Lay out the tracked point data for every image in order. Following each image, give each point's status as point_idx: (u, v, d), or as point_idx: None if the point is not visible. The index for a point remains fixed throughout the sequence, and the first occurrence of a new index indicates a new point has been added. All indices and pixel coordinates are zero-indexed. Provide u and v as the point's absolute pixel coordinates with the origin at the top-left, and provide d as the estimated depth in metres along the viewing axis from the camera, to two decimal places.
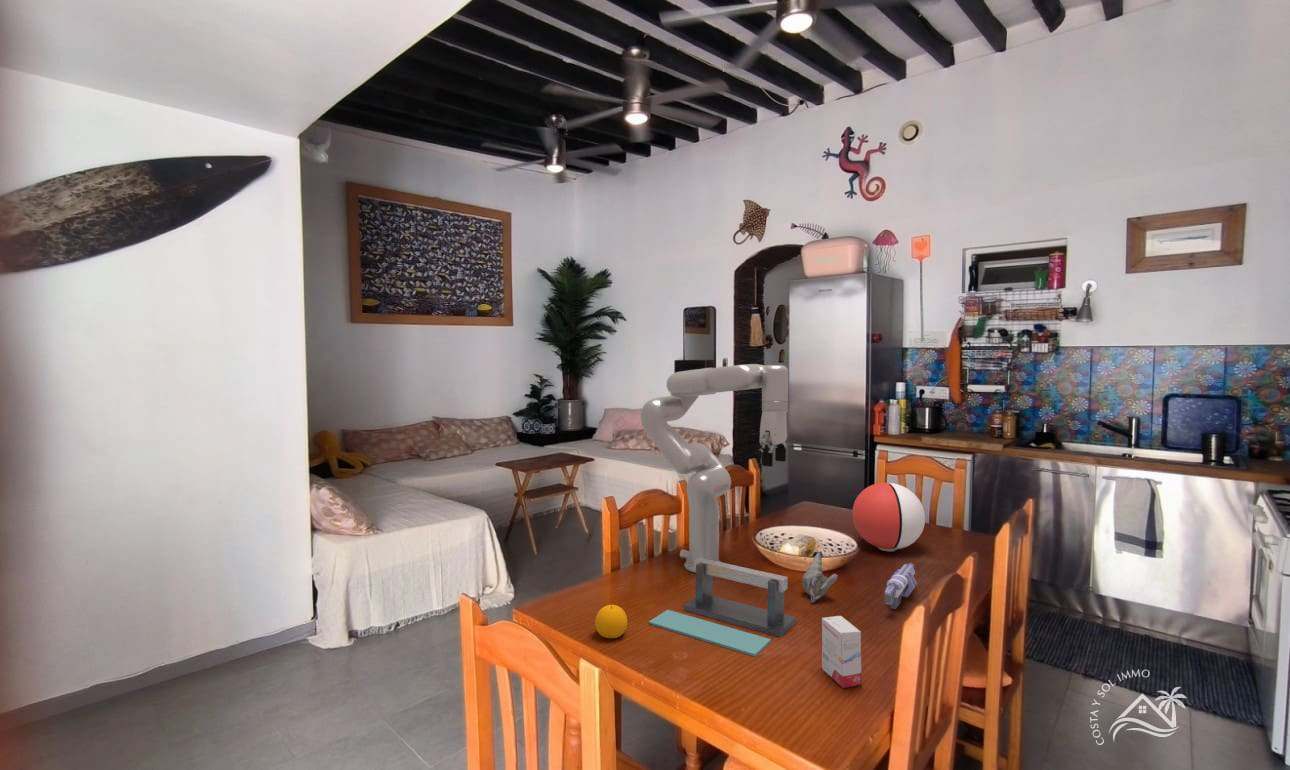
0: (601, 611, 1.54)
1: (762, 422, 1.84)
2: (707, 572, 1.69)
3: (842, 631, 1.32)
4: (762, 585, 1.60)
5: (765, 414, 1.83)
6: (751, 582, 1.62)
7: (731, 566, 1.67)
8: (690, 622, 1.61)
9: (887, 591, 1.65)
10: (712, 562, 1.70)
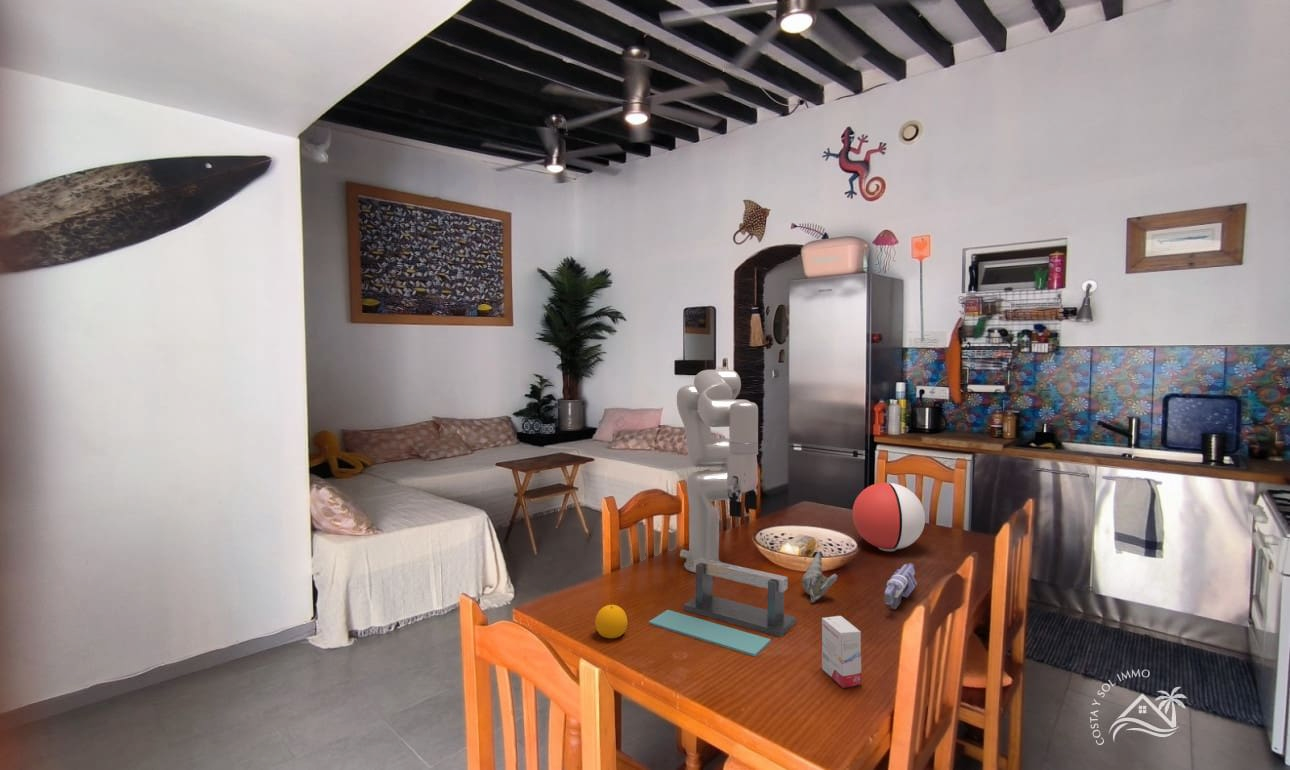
0: (601, 611, 1.54)
1: (729, 467, 1.63)
2: (707, 572, 1.69)
3: (842, 630, 1.32)
4: (762, 585, 1.60)
5: (733, 457, 1.62)
6: (751, 582, 1.62)
7: (731, 566, 1.67)
8: (690, 622, 1.61)
9: (887, 591, 1.65)
10: (712, 562, 1.70)
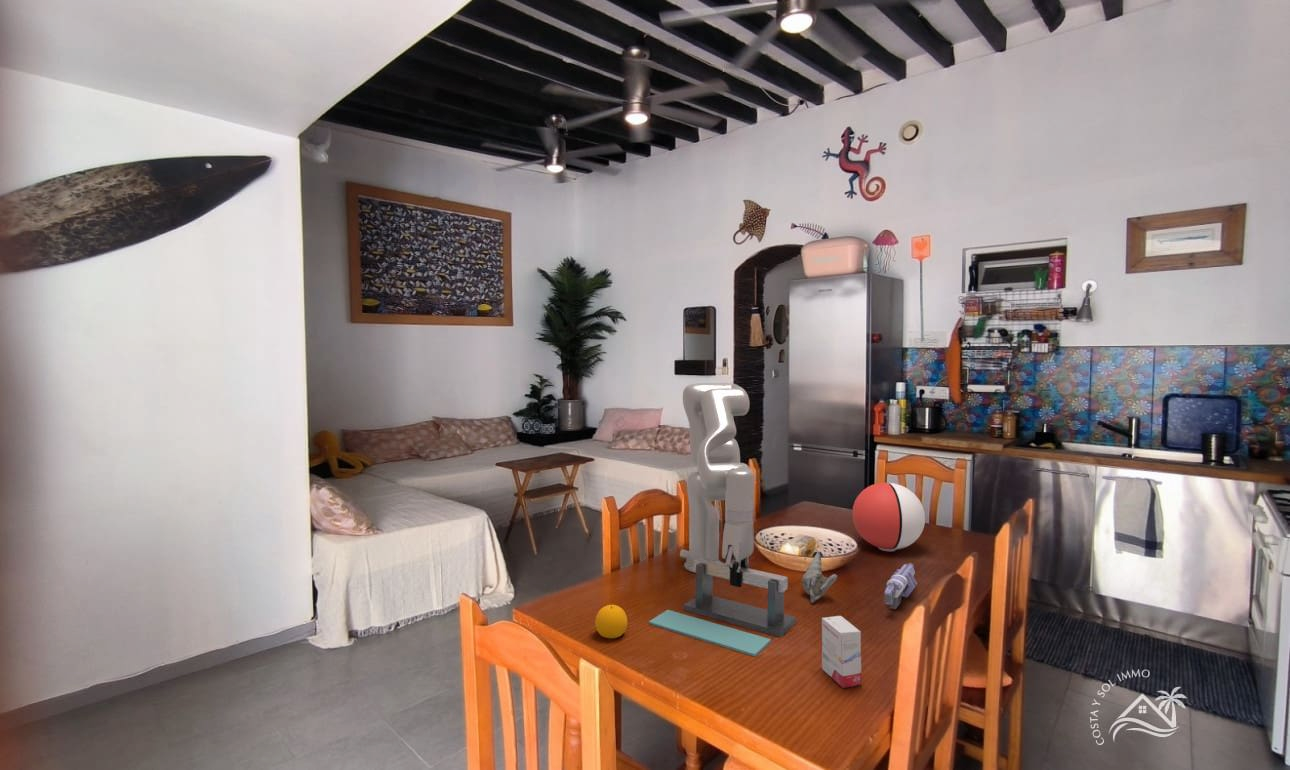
0: (601, 611, 1.54)
1: (725, 535, 1.62)
2: (707, 572, 1.69)
3: (842, 630, 1.32)
4: (762, 585, 1.60)
5: (728, 526, 1.62)
6: (751, 582, 1.62)
7: None
8: (690, 622, 1.61)
9: (887, 591, 1.65)
10: (712, 562, 1.70)
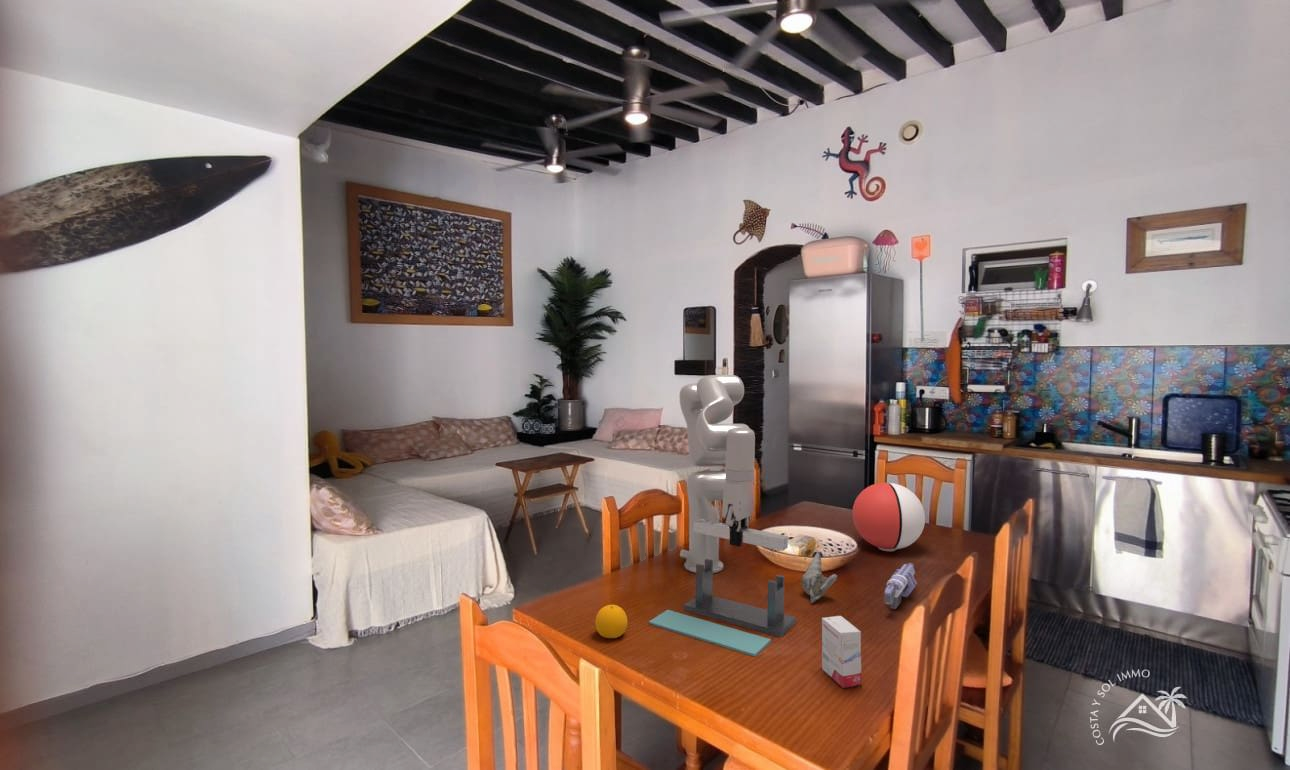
0: (601, 611, 1.54)
1: (725, 494, 1.62)
2: (707, 532, 1.69)
3: (842, 630, 1.32)
4: (762, 544, 1.60)
5: (728, 485, 1.61)
6: (751, 542, 1.62)
7: None
8: (690, 622, 1.61)
9: (887, 591, 1.65)
10: (712, 523, 1.70)
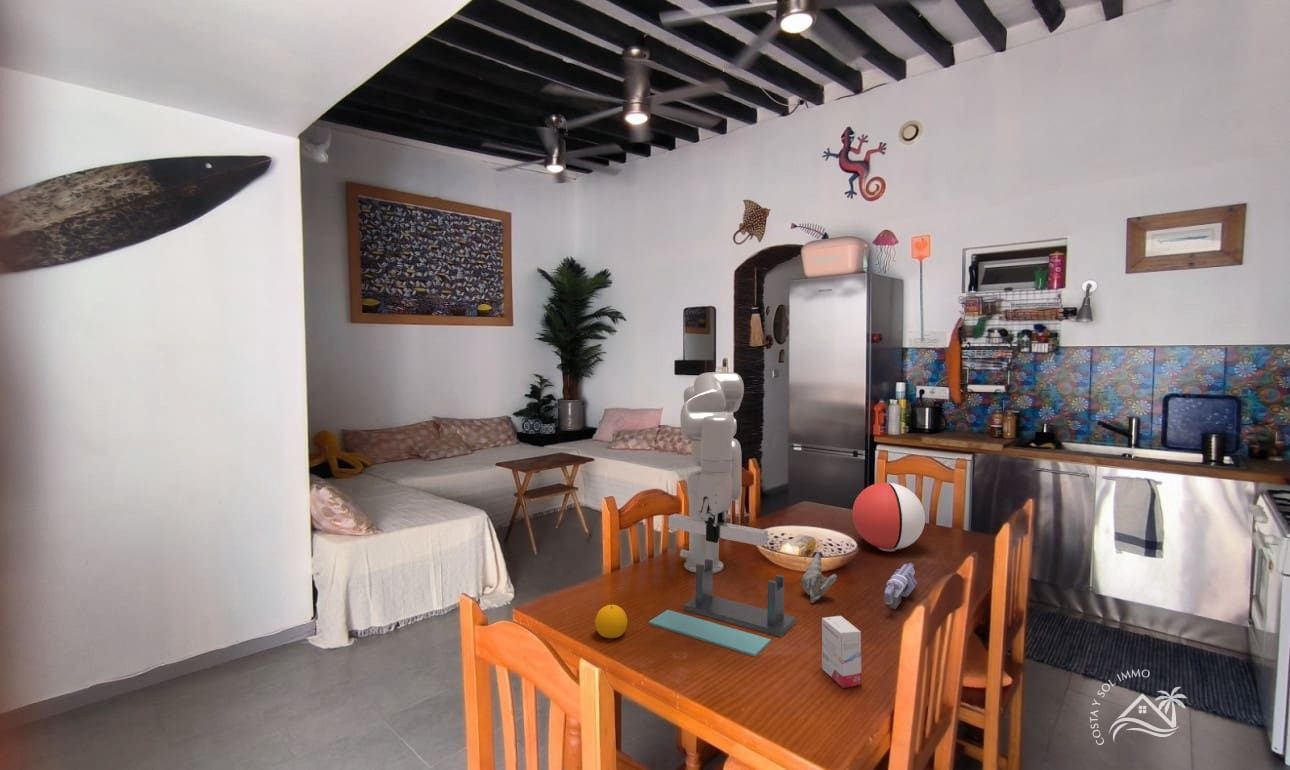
0: (601, 611, 1.54)
1: (700, 486, 1.51)
2: (682, 528, 1.58)
3: (842, 631, 1.32)
4: (740, 539, 1.49)
5: (704, 476, 1.50)
6: (729, 537, 1.51)
7: None
8: (690, 622, 1.61)
9: (887, 591, 1.65)
10: (688, 518, 1.59)
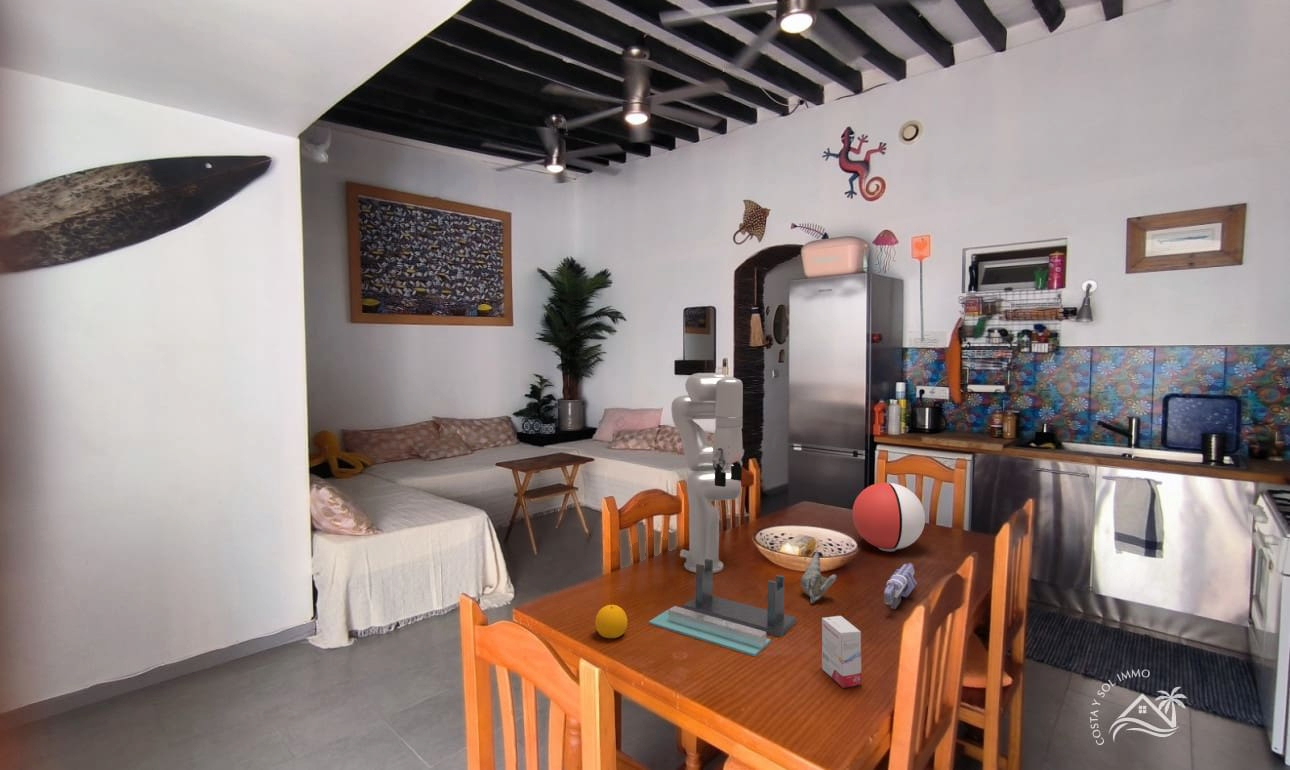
0: (601, 611, 1.54)
1: (715, 439, 1.73)
2: (682, 623, 1.60)
3: (842, 630, 1.32)
4: (739, 640, 1.50)
5: (718, 430, 1.72)
6: (728, 637, 1.52)
7: (707, 617, 1.57)
8: None
9: (887, 591, 1.65)
10: (687, 612, 1.60)
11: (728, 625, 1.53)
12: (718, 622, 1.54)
